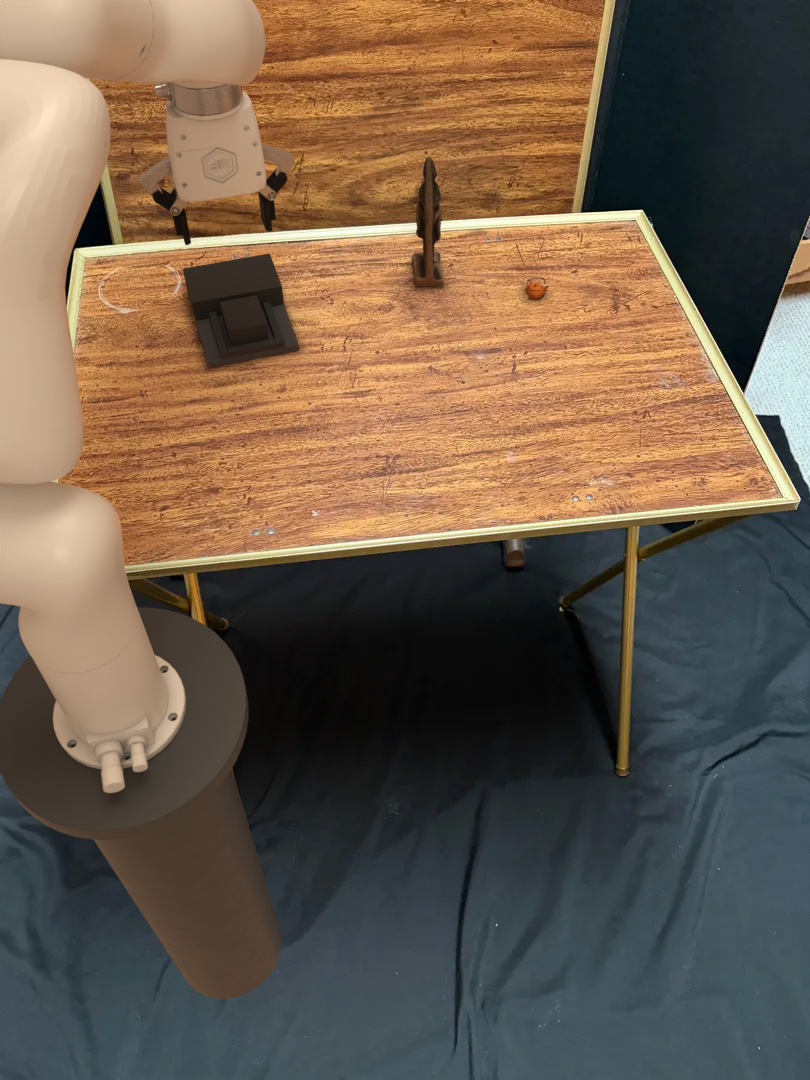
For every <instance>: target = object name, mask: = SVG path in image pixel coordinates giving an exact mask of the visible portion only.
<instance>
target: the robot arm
mask: <svg viewBox="0 0 810 1080" xmlns="http://www.w3.org/2000/svg"><path fill="white" fill-rule="evenodd" d="M265 33H266V32H265V27H264V23H263V19H262V16H261V13H260V11H259V9H258V7H257V5H256V3H255V2H254V1H253V0H0V605H10V606H15V607H19V612H18V617H17V618H18V619H17V623H18V625H17V626H18V632H19V635H20V638H21V641H22V643H23V645H24V647H25V648H26V651H27V652H28V654H29V656H30V655H31V657H32V658H33V660H34V662H35V664H36V665H37V667H38V669H39V671H40V672H41V674H42V676H43V678H44V679H45V681H46V683H47V685H48V687H49V688H50V690H51V692H52V694H53V695H54V697H55V699H56V702H55V705H54V712H53V724H54V730H55V733H56V736H57V739H58V740H59V742H60V744H61V745H62V747H63V748H64V750H65V751H66V752H67V753H68V754H69V755H70V756H71V757H72V758H74V759H75V760H76V761H78V762H79V763H82V764H84V765H86V766H88V767H92V768H96V769H101V770H102V771H101V778H102V785H103V790H104V792H106V793H115V792H119V791H121V790H122V789H124V788H125V782H124V775H123V769H124V768H129V767H132V769H133V771H134V772H142V771H145V770H146V769H147V768H148V764H147V760H149V759H151V758H152V757H154V756H155V755H156V754H158V753H159V752H161V751H162V750H163V749H164V748H165V747H166V746H167V745H168V744H169V743H170V742H171V741H172V739H173V738H174V736H175V735H176V734H177V732H178V731H179V728H180V726H181V724H182V722H183V719H184V715H185V711H186V694H185V689H184V686H183V684H182V681H181V678H180V677H179V675H178V673H177V672H176V670H175V669H174V668H173V667H172V666H171V665H170V664H169V663H168V662H166V661H165V660H163V659H162V658H160V657H158V656H156V655H154V652H153V649H152V646H151V644H150V641H149V638H148V636H147V633H146V630H145V628H144V625H143V622H142V619H141V617H140V614H139V611H138V609H137V607H138V606H137V603H136V601H135V598H134V595H133V592H132V590H131V587H130V583H129V579H128V575H127V570H126V564H125V553H124V541H123V539H124V538H123V531H122V530H123V529H122V523H121V521H120V517H119V514H118V511H117V510H116V509H115V507H114V505H113V504H112V503H111V502H110V501H109V500H108V499H106V497H104V496H102V495H101V494H99V493H97V492H95V491H93V490H90V489H88V488H85V487H81V486H78V485H75V484H74V485H73V484H68V483H65V482H64V483H63V482H55V481H57V480H60V479H62V478H64V477H66V476H67V475H69V474H70V473H71V472H72V471H73V470H74V469H75V468H76V466H77V465H78V463H79V462H80V459H81V457H82V454H83V449H84V440H85V439H84V438H85V427H84V426H85V425H84V414H83V413H84V412H83V406H82V399H81V393H80V386H79V379H78V372H77V366H76V361H75V354H74V347H73V342H72V336H71V329H70V325H69V324H70V322H69V316H68V308H67V307H68V306H67V296H66V282H67V273H68V268H69V267H68V266H69V263H70V259H71V255H72V252H73V249H74V246H75V243H76V241H77V238H78V236H79V233H80V231H81V228H82V226H83V223H84V222H85V219H86V217H87V214H88V212H89V209H90V207H91V204H92V202H93V200H94V197H95V195H96V193H97V190H98V188H99V185H100V183H101V181H102V178H103V175H104V172H105V170H106V167H107V163H108V159H109V154H110V150H111V136H112V135H111V132H112V129H111V128H112V126H111V118H110V110H109V108H108V104H107V101H106V98H105V97H104V95H103V93H102V92H101V90H100V89H99V88H98V87H97V86H96V85H95V83H94V82H92V81H91V80H97V81H98V80H99V81H109V82H123V83H124V82H126V83H137V84H138V83H141V84H153V87H154V91H155V97H156V99H160V98H161V99H162V98H163V99H168V100H167V101H166V104H165V136H166V145H167V152H168V155H167V156H165V157H164V158H162V159H161V160H159V161H158V162H157V163H155V164H153V165H152V166H151V167H149V168H148V169H146V170H145V171H144V172H142V173H141V174H139V177H138V179H139V184H140V186H141V187H142V188H143V189H144V191H145V192H146V193H147V194H148V195H149V196H150V197H151V198H152V199H153V202H154V203H156V204H157V205H159V206H161V207H162V208H164V209H165V210H167V211H168V212H169V213H170V214H171V215H172V220H173V225H174V230H175V234H176V236H177V237H178V236H182V239H183V241H184V245H185V246H189V245H191V244H192V240H191V234H190V227H189V223H188V218H187V217H188V216H187V214H186V211H185V207H186V205H187V204H188V203H201V202H209V201H215V200H223V199H227V198H234V197H240V196H241V197H242V196H247V195H251V194H256V193H258V203H259V211H260V212H259V213H260V219H261V221H262V224H263V227H264V229H265V231H266V232H268V233H269V232H273V224H272V221H276V220H277V217H276V215H277V214H276V206H275V200H276V199H277V198H278V197H277V196H278V193H279V192H280V190H282V188H283V187H284V186H285V185H286V184H287V182H288V177H289V175H290V174H291V171H292V169H293V166H294V164H295V159H294V156H293V153H291V152H290V151H287V150H284V149H281V148H279V147H275V146H273V145H272V146H271V145H269V144H266V143H263V142H262V138H261V133H260V129H259V124H258V120H257V116H256V112H255V108H254V104H253V102H252V100H251V98H250V97H249V95H248V94H247V92H245V91H244V90H243V86H246V85H249V84H250V83H251V82H252V81H254V80H255V78H256V77H257V76H258V74H259V72H260V71H261V68H262V65H263V62H264V60H265V59H264V58H265V53H266V34H265ZM265 161H268V162H271V163H274V164H277V167H276V168H275V169H274V170H273V171H272V173H270V175H269V177H268V176H267V171H266V164H265ZM169 175H172V180H173V186H172V187H171V189H169V191H167V190H165V188H163V187H161V186H159V184H158V183H159V182H161V181H162V180H163V179H165V178H166V177H168V176H169ZM164 672H166V673H164ZM174 719H176V720H174ZM172 720H174V721H172ZM73 746H75V747H73ZM72 747H73V748H72ZM127 758H130V759H128V760H126V759H127Z"/></svg>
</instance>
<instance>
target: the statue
mask: <svg viewBox="0 0 810 1080" xmlns="http://www.w3.org/2000/svg"><path fill="white" fill-rule="evenodd" d="M434 162H435V161H434V160H433V159H432V157H431V156H428V157H426V158H425V160H424V163H423V168H422V176H423V180H424V181H423V182H422V183H421V185H420V187H419V189H418V200H419V201H418V202H417V204H416V209H415V213H416V214H415V219H416V220H415V222H416V223H415V224H416V231H415V235H416V237H417V238H419V239H422V252H415V253H413V254H411V263H412V268H413V276H414V277H413V279H414V281H413V283H414V285H415V286H416V287H429V286H440V285H443V284H444V283H445V278H444V274H443V269H442V259H441V258H442V257H441V253H440V252H438V251H435V244H436V243H437V242H438V241H440V240H441V237H442V234H441V229H442V228H441V227H442V214H443V211H442V207H441V204H440V202H441V199H442V195H441V190H440V187H439V184H438V183H437V181H436V178H437V176H438V173H437V172H438V171H437V168H436V164H435V163H434Z"/></svg>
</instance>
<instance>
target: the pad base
mask: <svg viewBox="0 0 810 1080" xmlns="http://www.w3.org/2000/svg"><path fill="white" fill-rule="evenodd" d="M182 271H183V278H184V282H185V287H186V292H187V295H188V296H187V297H188V299H189V304H190V307H191V310H192V313H193V318H194V322H195V325H196V329H197V332H198V336H199V340H200V342H201V347H202V350H203V353H204V357H205V361H206V364H207V367H208V369H211V368H215V367H216V368H217V367H221V366H226V365H227V366H228V365H232V364H236V363H241V362H246V361H247V362H248V361H251V360H257V359H263V358H267V357H272V356H277V355H282V354H287V353H293V352H298V351H300V344H299V342H298V339H297V336H296V332H295V330H294V328H293V324H292V322H291V319H290V317H289V315H288V311H287V309H286V306H285V300H284V292H283V285H282V282H281V279H280V277H279V274H278V272H277V269H276V266H275V264H274V260H273V258H272V255H271V253H264V254H258V255H253V256H247V257H242V258H241V257H240V258H235V259H230V260H224V261H218V262H213V263H212V262H211V263H208V264H201V265H195V266H189V267H184V268H182ZM255 295H257V296H258V299H259V302H260V305H261V308H262V311H263V314H264V316H265V319H266V322H267V328H268V336H269V339H268V340H263V341H258V342H253V343H247V344H242V345H237V346H232V347H231V345H230V342H229V339H228V335H227V332H226V329H225V326H224V322H223V318H222V313H221V307H220V302H222V301H228V300H233V299H239V298H244V297H250V296H255Z"/></svg>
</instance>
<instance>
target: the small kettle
mask: <svg viewBox="0 0 810 1080" xmlns="http://www.w3.org/2000/svg"><path fill="white" fill-rule="evenodd" d="M536 279H540V280H543V281H544V282H543V285H542V284H540V283H538V282H531V283H530V284H528V283H529V282H530V281H532V280H536ZM545 284H546V279H545V278H543V277H534V278H529V279H528V280H527V281H526V287H525V288H524V289H525V290H524V292H523V295H524V297H525V298H526V299H527V300H529V301H532V300H538V299H542V297H544V295H545V293H546V292H547V291H548V288H549V287H550V286H549V285H546V286H545Z"/></svg>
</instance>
